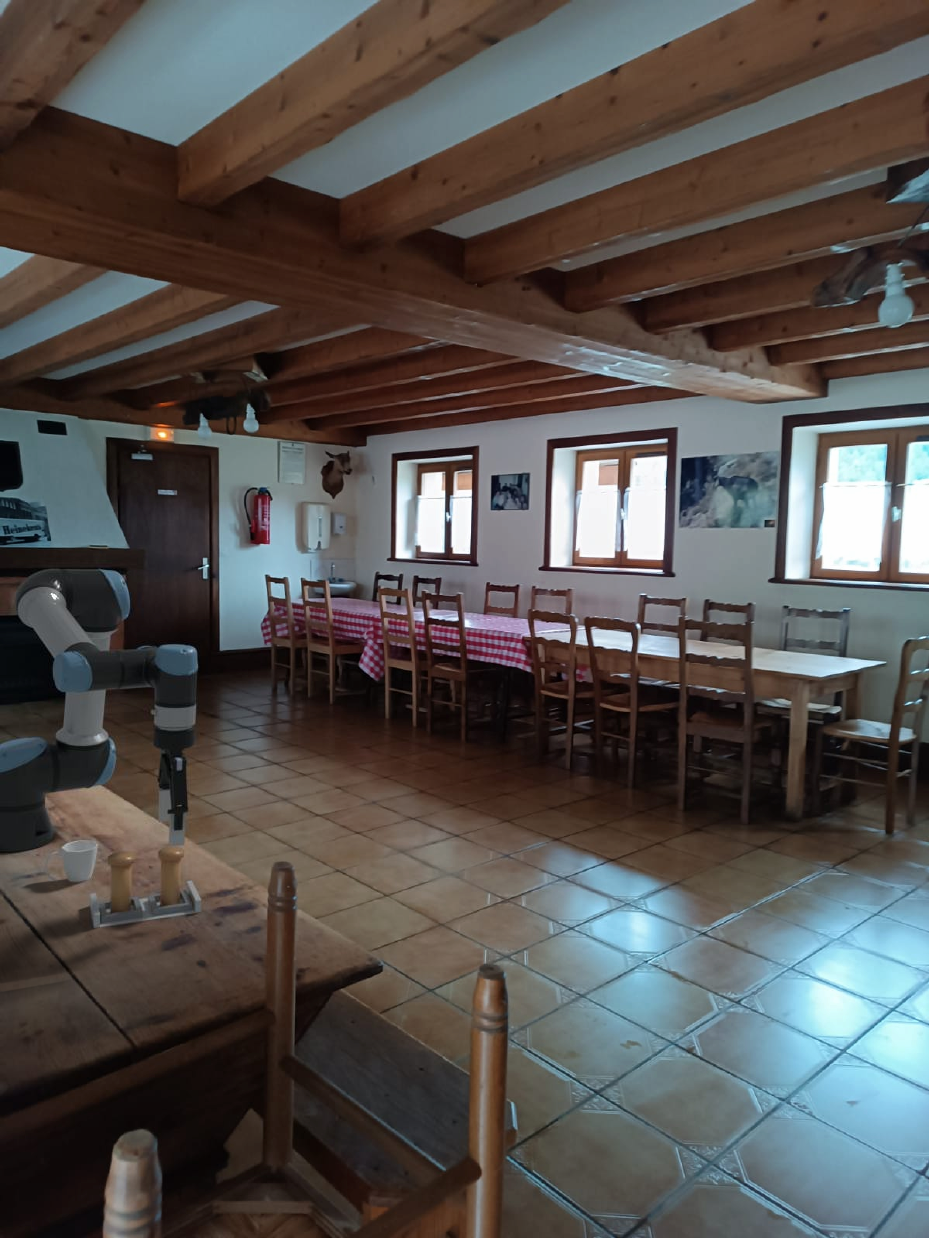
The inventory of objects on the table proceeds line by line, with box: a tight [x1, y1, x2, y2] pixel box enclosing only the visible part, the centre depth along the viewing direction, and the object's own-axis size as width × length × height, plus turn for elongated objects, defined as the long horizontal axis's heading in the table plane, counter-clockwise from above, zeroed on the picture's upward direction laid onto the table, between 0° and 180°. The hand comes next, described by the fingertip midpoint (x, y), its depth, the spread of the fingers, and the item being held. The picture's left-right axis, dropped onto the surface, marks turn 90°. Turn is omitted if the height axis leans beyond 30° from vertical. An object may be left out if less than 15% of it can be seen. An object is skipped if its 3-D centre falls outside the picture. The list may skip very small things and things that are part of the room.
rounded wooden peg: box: [107, 851, 136, 914], centre depth 162 cm, size 5×5×11 cm
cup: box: [44, 839, 99, 883], centre depth 176 cm, size 7×10×8 cm
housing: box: [89, 880, 202, 929], centre depth 164 cm, size 10×19×4 cm, turn 118°
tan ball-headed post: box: [157, 846, 185, 907], centre depth 166 cm, size 5×5×11 cm
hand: (170, 832), depth 165 cm, fingers open, 13 cm apart
